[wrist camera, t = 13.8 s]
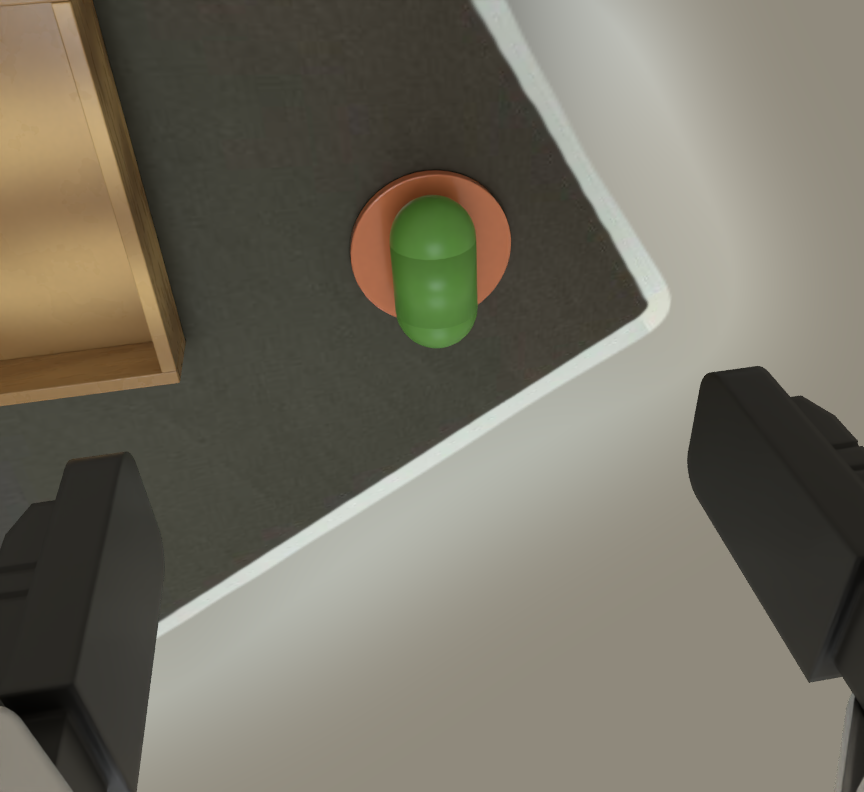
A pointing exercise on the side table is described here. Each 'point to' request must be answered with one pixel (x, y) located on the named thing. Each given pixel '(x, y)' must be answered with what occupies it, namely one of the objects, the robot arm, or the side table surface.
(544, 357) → the side table surface
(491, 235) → the plate
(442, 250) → the cucumber
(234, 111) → the side table surface
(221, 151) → the side table surface
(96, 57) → the wooden tray
